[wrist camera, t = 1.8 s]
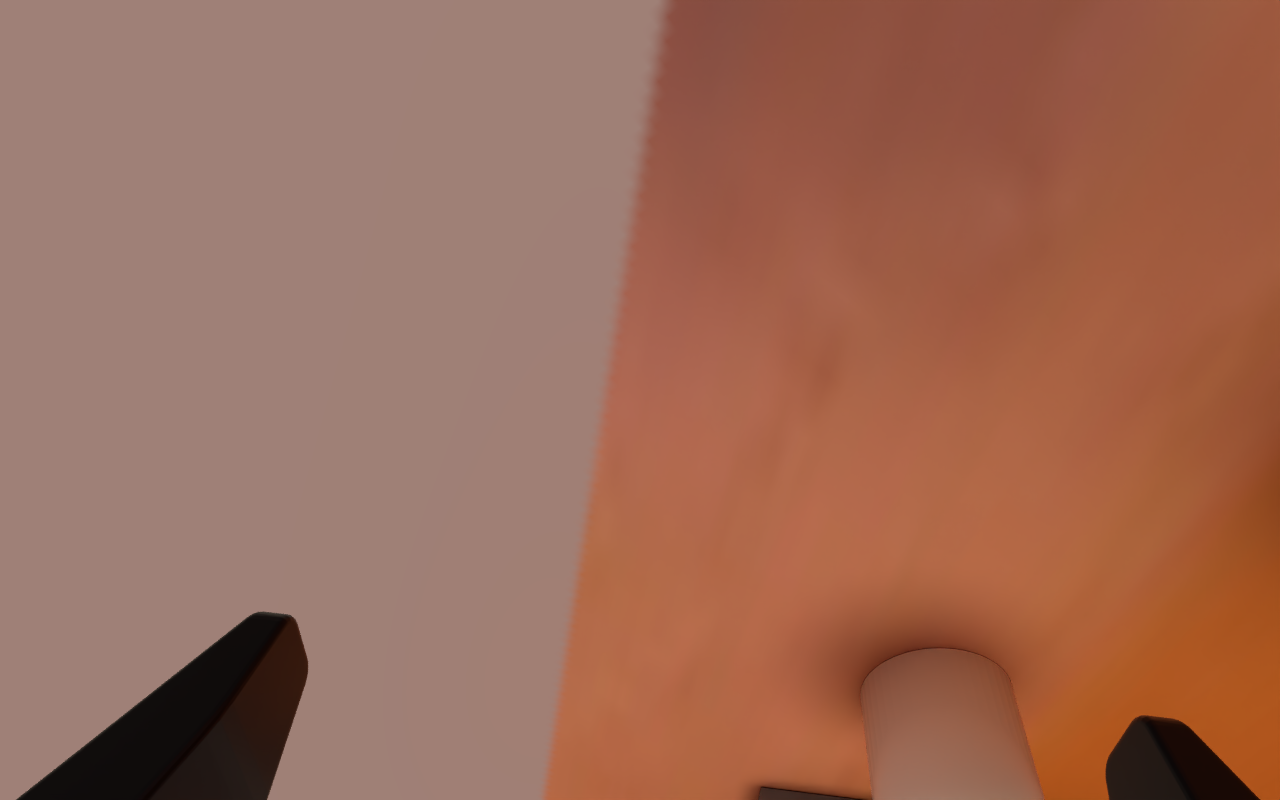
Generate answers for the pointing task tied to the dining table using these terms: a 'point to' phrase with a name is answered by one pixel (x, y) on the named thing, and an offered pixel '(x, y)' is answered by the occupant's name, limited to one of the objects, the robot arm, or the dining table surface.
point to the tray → (793, 795)
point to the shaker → (945, 730)
